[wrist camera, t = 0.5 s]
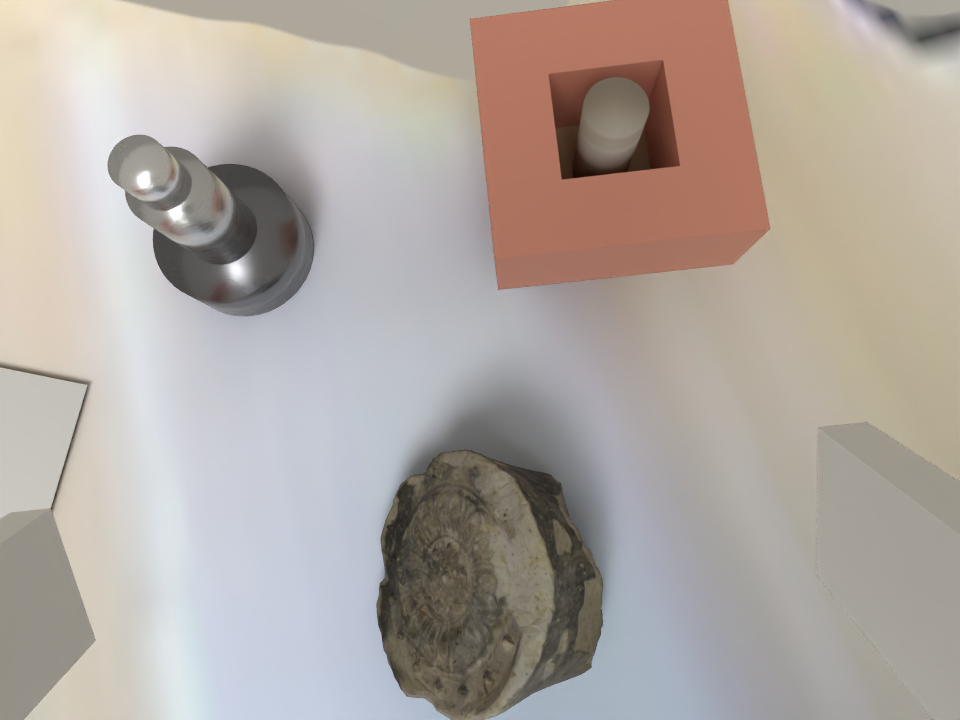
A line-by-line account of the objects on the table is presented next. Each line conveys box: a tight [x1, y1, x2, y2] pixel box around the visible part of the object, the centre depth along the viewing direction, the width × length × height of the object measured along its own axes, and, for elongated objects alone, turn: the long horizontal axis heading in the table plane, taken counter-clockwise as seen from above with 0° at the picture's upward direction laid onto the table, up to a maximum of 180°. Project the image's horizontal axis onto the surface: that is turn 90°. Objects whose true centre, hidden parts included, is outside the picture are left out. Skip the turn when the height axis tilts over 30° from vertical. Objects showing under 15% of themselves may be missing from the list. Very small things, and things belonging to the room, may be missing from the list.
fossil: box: [376, 450, 603, 720], centre depth 27 cm, size 11×9×10 cm
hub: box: [108, 135, 314, 316], centre depth 28 cm, size 7×7×10 cm
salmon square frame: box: [470, 0, 770, 290], centre depth 26 cm, size 10×10×4 cm
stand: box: [555, 77, 651, 180], centre depth 28 cm, size 7×7×10 cm
